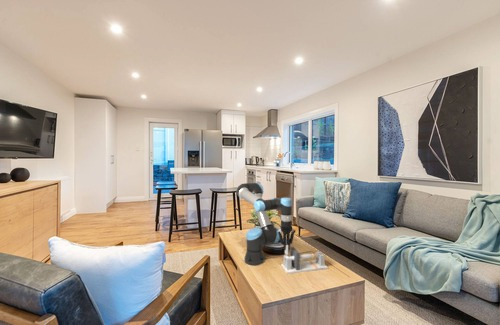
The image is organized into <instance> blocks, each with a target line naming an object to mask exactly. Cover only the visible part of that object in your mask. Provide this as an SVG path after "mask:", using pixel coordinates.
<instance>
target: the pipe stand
mask: <svg viewBox="0 0 500 325" xmlns="http://www.w3.org/2000/svg"><path fill="white" fill-rule="evenodd" d="M325 257H326V256H325V254H323V252H321V251H316V252H315V253H313V252H312V253H306V254H305V253H304V254H300V260H303V261H300V269H296V268H295V267H294V266H293V265H292V264H291V261H292V260H294V256H290V255H289V254H288V255H286V254H284V255H283V263H281V264H280V267H282V269H283V271H285V273H286V274H287V275H291V274H297V273H306V272H314V271H321V270H328V269H329V266H327V265H326V262H325V261H326V260H325ZM307 259H313V260H307ZM304 260H305V261H304Z"/></svg>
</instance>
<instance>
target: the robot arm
mask: <svg viewBox="0 0 500 325" xmlns="http://www.w3.org/2000/svg"><path fill="white" fill-rule="evenodd" d="M263 194H264V188H263V186H262V184H261V183H260V182H248V183H242V184H241V183H240V185H238V186H237V188H236V195H237V197H238V198H240V199H243V200H245V201H246V202H247V203H249V204H250V205H252V206H253V207H254V210H255V214H256V216H257V219H258V222H259V226H260V228H258V227H256V228H255V227H254V228H251V229H248V231H247V232H246V252H245V256H244V262H245V264H247V265H249V266H260V265H262V264H264V263H265V256H264V251H263V247H264V246H269V245H273V244H277V243H278V242H279V241H280V244H281V245H283V250H284V255H288V256H289V250H290V246H291V245H292V244H293V241H294V236H295V233H296V229H294V228H293V221H292V220H293V207H292V206H293V203H292V202H293V199H292V198H291V197H281V198H278V197H273V198H271V199H263ZM275 210H278V211H280V228H278V227H276V226H275V225H274V223H272V222H271V219H270V217H269V214H268V211H275ZM282 234H283V235H282Z"/></svg>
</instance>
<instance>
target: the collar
mask: <svg viewBox="0 0 500 325" xmlns="http://www.w3.org/2000/svg"><path fill="white" fill-rule="evenodd" d="M289 250H290V251H289V256H294V260H292V261H291V264H292V265H293V266H294V267H295V268H296V269H300V262H301V261H300V255H301V253H300V252H299V251H298V250H297V249H296V248H295V247H294V246H289Z"/></svg>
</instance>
